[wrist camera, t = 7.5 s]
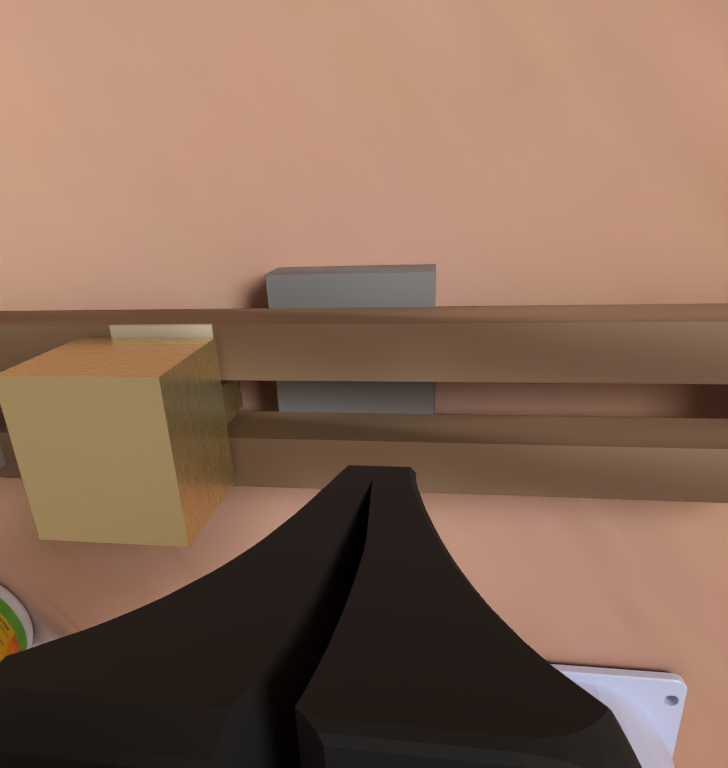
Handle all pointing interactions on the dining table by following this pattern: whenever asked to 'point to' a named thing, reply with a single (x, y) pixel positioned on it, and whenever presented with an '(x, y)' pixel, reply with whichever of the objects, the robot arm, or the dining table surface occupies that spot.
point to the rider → (122, 438)
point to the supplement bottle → (13, 625)
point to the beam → (417, 384)
